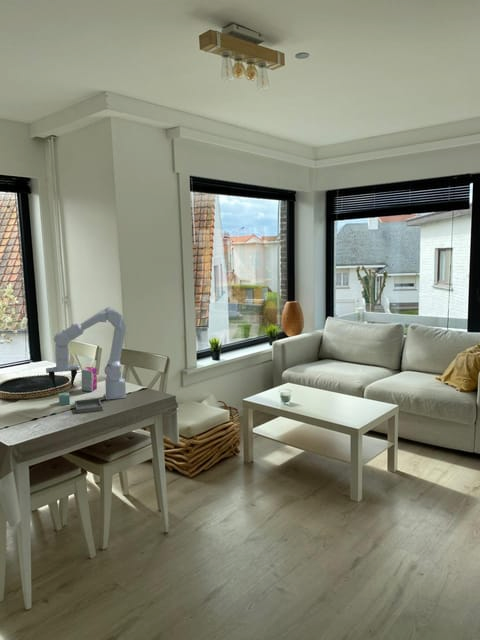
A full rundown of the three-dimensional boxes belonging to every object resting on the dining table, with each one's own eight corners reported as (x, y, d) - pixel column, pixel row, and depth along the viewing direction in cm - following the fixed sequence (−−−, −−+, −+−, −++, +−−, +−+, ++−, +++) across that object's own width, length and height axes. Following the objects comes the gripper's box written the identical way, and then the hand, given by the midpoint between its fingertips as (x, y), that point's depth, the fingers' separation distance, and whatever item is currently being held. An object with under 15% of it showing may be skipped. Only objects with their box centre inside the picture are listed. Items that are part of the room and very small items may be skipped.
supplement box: (92, 392, 246) (91, 370, 244) (81, 391, 247) (80, 369, 245) (97, 388, 251) (96, 367, 249) (87, 387, 252) (86, 366, 250)
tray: (99, 402, 232) (99, 398, 232) (102, 410, 222) (102, 406, 222) (74, 404, 228) (74, 400, 227) (76, 413, 218) (76, 409, 217)
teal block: (69, 401, 233) (68, 392, 232) (69, 404, 229) (69, 395, 228) (59, 402, 231) (58, 393, 230) (59, 405, 227) (59, 396, 226)
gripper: (77, 355, 232) (79, 382, 235) (45, 357, 226) (46, 385, 229) (79, 358, 226) (80, 386, 228) (45, 361, 220) (47, 389, 223)
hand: (63, 386), depth 228 cm, fingers open, 7 cm apart
